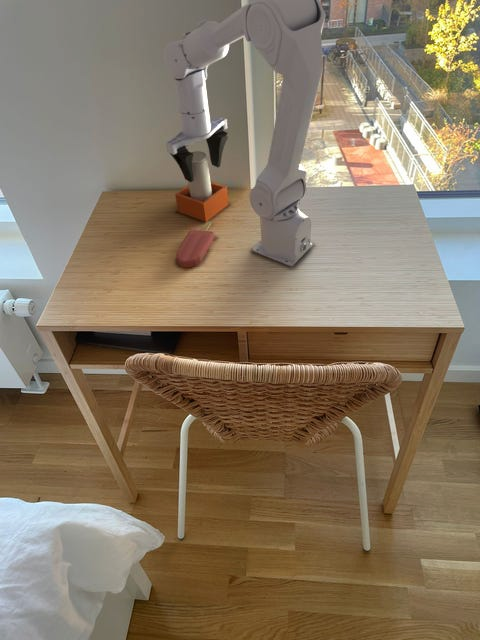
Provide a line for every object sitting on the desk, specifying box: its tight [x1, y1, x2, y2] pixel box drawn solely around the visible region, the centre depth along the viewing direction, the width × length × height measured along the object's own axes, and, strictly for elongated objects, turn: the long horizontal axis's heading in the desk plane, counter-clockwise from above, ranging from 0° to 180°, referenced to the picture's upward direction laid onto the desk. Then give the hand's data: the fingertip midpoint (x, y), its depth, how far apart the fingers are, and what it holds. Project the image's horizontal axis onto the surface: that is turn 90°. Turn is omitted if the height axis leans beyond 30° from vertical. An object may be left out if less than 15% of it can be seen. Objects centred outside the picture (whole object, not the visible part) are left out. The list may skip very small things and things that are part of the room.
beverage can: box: [187, 150, 212, 202], centre depth 106 cm, size 5×5×12 cm
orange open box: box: [174, 180, 229, 223], centre depth 109 cm, size 8×8×5 cm
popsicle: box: [176, 220, 215, 268], centre depth 101 cm, size 5×2×15 cm
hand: (202, 172), depth 104 cm, fingers open, 7 cm apart
